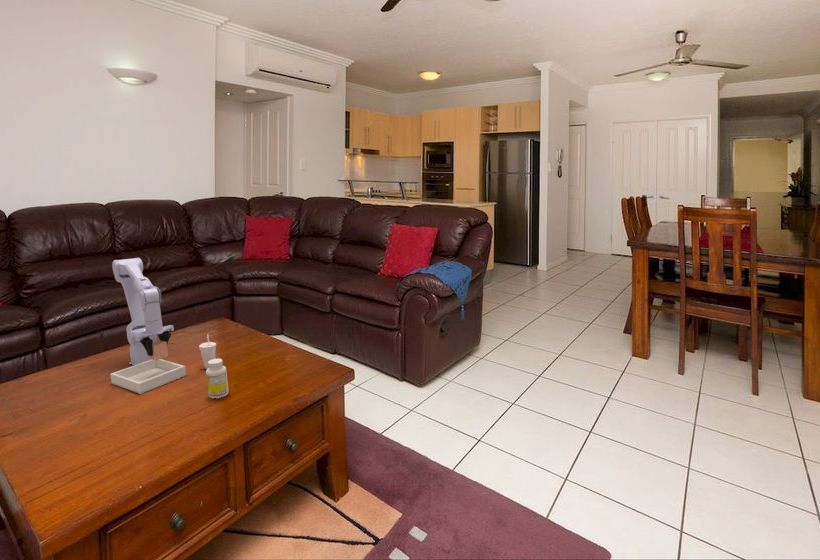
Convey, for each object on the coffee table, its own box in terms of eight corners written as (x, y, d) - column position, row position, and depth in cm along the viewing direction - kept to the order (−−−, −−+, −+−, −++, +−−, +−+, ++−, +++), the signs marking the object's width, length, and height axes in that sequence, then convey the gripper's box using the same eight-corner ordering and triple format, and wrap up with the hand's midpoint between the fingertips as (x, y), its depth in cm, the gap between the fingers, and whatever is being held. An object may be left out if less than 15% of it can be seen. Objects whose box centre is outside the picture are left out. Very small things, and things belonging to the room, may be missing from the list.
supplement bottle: (212, 391, 164) (208, 357, 162) (231, 390, 165) (228, 356, 162) (205, 399, 158) (201, 364, 155) (225, 398, 158) (221, 364, 156)
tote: (111, 383, 171) (110, 373, 170) (157, 366, 186) (156, 357, 185) (140, 394, 162) (138, 383, 161) (186, 375, 177) (185, 366, 177)
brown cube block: (148, 358, 176) (146, 343, 175) (160, 354, 180) (158, 339, 179) (156, 360, 174) (154, 345, 172) (168, 356, 178) (166, 341, 177)
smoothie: (212, 370, 182) (208, 337, 179) (197, 369, 183) (194, 336, 180) (221, 364, 188) (218, 332, 185) (207, 363, 189) (204, 331, 186)
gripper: (140, 326, 166) (145, 361, 168) (177, 315, 178) (181, 348, 181) (129, 323, 169) (134, 357, 172) (165, 313, 181) (169, 345, 184)
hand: (157, 353), depth 177 cm, fingers closed on brown cube block, 5 cm apart
